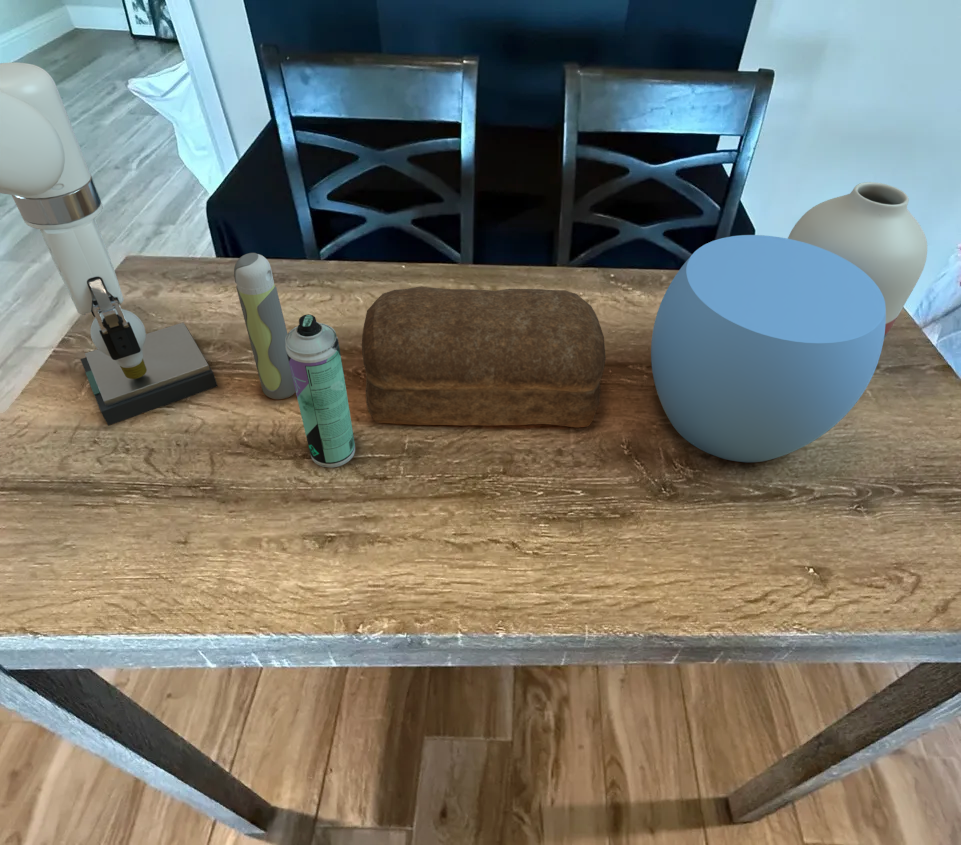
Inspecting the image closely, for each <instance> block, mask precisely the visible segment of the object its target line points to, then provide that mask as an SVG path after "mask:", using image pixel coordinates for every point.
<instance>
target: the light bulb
mask: <svg viewBox="0 0 961 845" xmlns="http://www.w3.org/2000/svg"><path fill="white" fill-rule="evenodd" d="M121 309H122V312H123V314H124V316H125V319H126V321H127V322H129V323H130V325H131V327H132V330H133V332H134V334H135V337H136V339H137V342H138V344H139V347H140V349H141V351H140V352H139V353H137V354H133V355H130V356H127V357H124V358H121V359H118V360H114V361H115V362H116V363H117V364H118V365H120V367H121V369H122V371H123V373H124V374H125V376H126V377H127V378H129V379H139V378H141V377H142V376H143V375H144V374H145V373H146V371H147V369H146V366H145V364H144V360H143V350H142V349H143V345H144V342H145V338H146V334H147V332H146V327H145V325H144V323H143V321H142V320H141V319H140V317H138V315H136V314H135V313H134V312H132V311H130V310H128V309H126V308H125V309H124V308H121ZM114 310H115V313H116V315H117V314H118V313H117V311H116V309H115V308H114ZM100 316H101V318H102V320H103V318H104V316H103V314H102V312H101V313H100ZM100 330H101V328H100V326H99V324H98V321H97V319H96V317H94V319H93V321H92V322H91V325H90V330H89V331H90V332H89V333H90V337H91V341H92V343H93V345H94V346H95V347H96V348H97V349H99V350H100V351H101V352H102V353H104V354H106V355H108V356H110V354H109V352H108V349H107V347H106V345H105V343H104V341H103V338H102V336H101V334H100V332H99V331H100ZM110 357H111V356H110Z"/></svg>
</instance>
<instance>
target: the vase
mask: <svg viewBox="0 0 961 845" xmlns="http://www.w3.org/2000/svg"><path fill="white" fill-rule="evenodd" d="M909 201H910V199H909V196H908V195H907V194H906V193H905V192H904V191H903V190H902V189H899V188H898V187H895V186H893V185H890V184H887V183H882V182H874V181H873V182H872V181H867V182H865V181H864V182H861V183H858V184H856V185H855V186H854V187H853V189H852V190H851V191H850V192H849V193H847V194H843V195H840V196H836V197H832V198H830V199H826V200H824V201H822V202H820V203H818V204H816V205H814V206H812V207H810V209H808V210H807V211H806V212H805V213H803V215H802V216H801V217H800V218H799V219H798V221H797V222H796V223H795V224H794V226H793V227H792V229H791V231H790V232H789V235H788V236H787V239H792V240H796V241H800V242H804V243H808V244H811V245H814V246H817V247H820V248H822V249H825V250H827V251H830V252H832V253H834V254H836V255H838V256H840V257H842V258H844V259H846V260H847V261H849V262H851V263H852V264H854V265H855V266H857V267H858V268H859V269H861V270H862V271H863V272H865V273H866V274H867V275H868V276H869V277H870V278H871V279H872V280H873V281H874V282H875V284H876V285H877V286H878V288H879V289H880V291H881V293H882V295H883V297H884V300H885V307H886V323H885V334H884V340H885V339H886V337H887V336H888V334H889V332H890V331H891V329H892V328H893V325H894V324H895V322H896V320H897V319H898V317H899V315H900V313H901V312H902V310H903V309H904V306H906V303H907V301H908V300H909V298H910V296H911V295H912V293H913V291H914V289H915V287H916V285H917V284H918V281H919V280H920V278H921V275H922V273H923V271H924V269H925V266H926V262H927V258H928V257H927V256H928V241H927V237H926V234H925V232H924V230H923V228H922V226H921V225H920V222H918V220H917V219H916V218H915V217H914V215H913V214H912V213H911V212H910V211H909V209H908V205H909Z"/></svg>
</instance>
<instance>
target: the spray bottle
mask: <svg viewBox="0 0 961 845" xmlns="http://www.w3.org/2000/svg"><path fill="white" fill-rule="evenodd" d="M233 278H234V283H235V284H236V287H235V288H236V293H237V296H238V299H239V303H240V307H241V311H242V315H243V320H244V324H245V327H246V331H247V335H248V339H249V343H250V346H251V351H252V354H253V358H254V364H255V367H256V370H257V375H258V378H259V382H260V386H261V390H262V392H263V394H264V395H265V396H266V397H268V398H270V399H273V400H283V399H288V398H290V397H292V396H293V395H296V391H295V386H294V382H293V378H292V373H291V369H290V365H289V360H288V356H287V352H286V343H285V338H286V336H287V334H288V330H287V325H286V322H285V317H284V313H283V310H282V305H281V301H280V297H279V293H278V288H277V286H276V285H275V280H274V274H273V271H272V267H271V264H270V261H269V260H268V259H267V257H265V256H263V255H262V254H260V253H256V252H249V253H245V254H243V255H242V256H240V257H239V258H238V259H237V260H236V262H235V265H234V268H233Z"/></svg>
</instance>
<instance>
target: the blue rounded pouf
mask: <svg viewBox="0 0 961 845" xmlns="http://www.w3.org/2000/svg"><path fill="white" fill-rule="evenodd" d="M885 323H886V307H885V300H884V297H883V295H882V293H881V291H880V289H879V288H878V286H877V285H876V284H875V282H874V281H873V280H872V279H871V278H870V277H869V276H868V275H867V274H866V273H865V272H863V271H862V270H861V269H859V268H858V267H857V266H855V265H854V264H852V263H851V262H849V261H847V260H846V259H844V258H842V257H840V256H838V255H836V254H834V253H832V252H830V251H827V250H825V249H822V248H820V247H817V246H814V245H811V244H808V243H804V242H800V241H796V240H792V239H788V237H787V238H786V237H780V236H773V235H763V234H760V235H759V234H741V235H732V236H726V237H722V238H717V239H715V240H712V241H710V242H708V243H705V244H703V245H702V246H700V247H698V248H697V249H696V250H695V251H694V252H693V253H692V254H691V256H689V257H688V259H687V260H686V261H685V262H684V263H683V265H681V267H680V268H679V270H678V271H677V272H676V274H675V275H674V277H673V279H672V281H671V282H670V283H669V285H668V287H667V289H666V291H665V293H664V295H663V297H662V299H661V302H660V304H659V306H658V309H657V313H656V315H655V320H654V323H653V328H652V335H651V344H650V363H651V371H652V377H653V378H652V379H653V384H654V387H655V390H656V394H657V396H658V399H659V401H660V404H661V406H662V409H663V411H664V413H665V415H666V417H667V419H668V420H669V422H670V423H671V425H672V427H673V428H674V429H675V431H676V432H677V433H678V434H679V435H680V436H681V437H682V438H683V439H684V440H685V441H687V442H688V443H689V444H691V445H692V446H694V447H695V448H697V449H699V450H701V451H702V452H705V453H707V454H709V455H711V456H714V457H717V458H719V459H723V460H726V461H727V460H728V461H732V462H736V463H737V462H738V463H760V462H767V461H770V460H774V459H779V458H781V457H784V456H787V455H788V454H792V453H793V452H795V451H798V450H800V449H801V448H804V447H806V446H809V444H811V443H813V442H814V441H816V440H818V439H819V438H821V437H822V436H824V435H825V434H827V432H829V431H830V430H832V429H833V428H834V427H835V426H836V425H837V424H839V423H840V421H842V420H843V419H844V418H845V417H846V416H847V415H848V413H850V411H851V410H852V409H853V408H854V406H855V405H856V404H857V403H858V402H859V400H860V398H862V396H863V394H864V392H865V391H866V389H867V388H868V386H869V384H870V382H871V380H872V379H873V376H874V374H875V372H876V369H877V367H878V364H879V361H880V358H881V354H882V350H883V345H884V341H885V339H884V334H885Z"/></svg>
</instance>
